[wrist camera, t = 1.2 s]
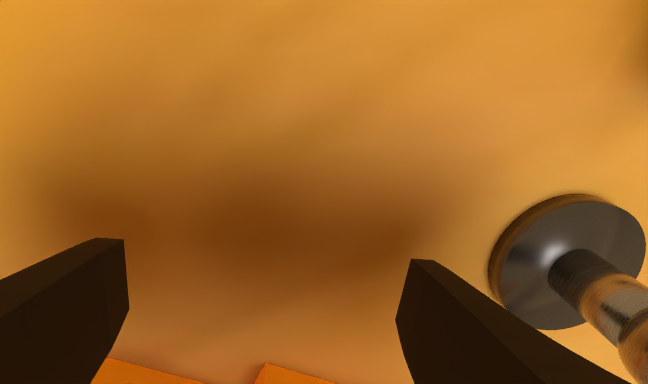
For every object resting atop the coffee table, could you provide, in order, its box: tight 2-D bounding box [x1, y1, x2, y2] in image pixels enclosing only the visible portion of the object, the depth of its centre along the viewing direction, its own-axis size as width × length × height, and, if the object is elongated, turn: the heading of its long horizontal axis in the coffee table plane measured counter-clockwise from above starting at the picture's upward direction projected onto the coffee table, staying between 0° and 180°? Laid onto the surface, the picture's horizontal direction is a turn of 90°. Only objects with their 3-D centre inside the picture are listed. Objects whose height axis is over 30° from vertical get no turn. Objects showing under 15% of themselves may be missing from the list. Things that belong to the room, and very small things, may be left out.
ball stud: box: [489, 194, 648, 384], centre depth 10 cm, size 5×5×6 cm
